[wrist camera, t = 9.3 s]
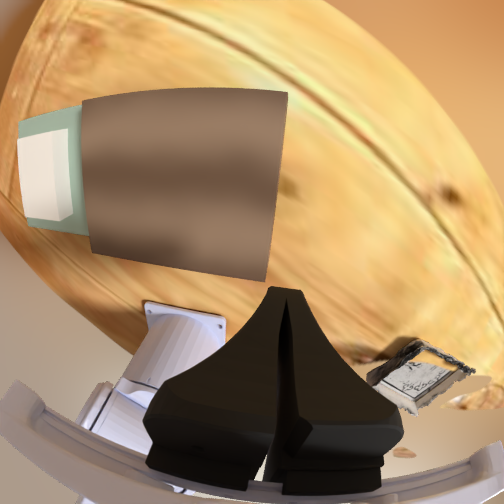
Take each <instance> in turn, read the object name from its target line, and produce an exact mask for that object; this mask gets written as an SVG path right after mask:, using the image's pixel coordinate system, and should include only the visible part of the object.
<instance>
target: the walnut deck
mask: <svg viewBox="0 0 504 504" xmlns="http://www.w3.org/2000/svg"><path fill="white" fill-rule="evenodd" d="M287 104H288V92H281V91H272V90H260V89H244V88H175V89H160V90H149V91H139V92H131V93H123V94H117V95H110V96H104V97H99V98H93V99H88V100H84V101H82V116H81V156H82V176H83V189H84V200H85V209H86V217H87V225H88V231H89V238H90V244H91V250H92V253H96V254H101V255H106V256H111V257H117V258H122V259H127V260H133V261H138V262H144V263H149V264H155V265H160V266H166V267H172V268H178V269H184V270H190V271H196V272H202V273H208V274H214V275H221V276H227V277H233V278H240V279H247V280H253V281H260V282H265V279H266V273H267V268H268V262H269V255H270V247H271V239H272V232H273V224H274V216H275V208H276V200H277V192H278V184H279V175H280V167H281V158H282V149H283V141H284V132H285V122H286V113H287Z"/></svg>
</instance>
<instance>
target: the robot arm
mask: <svg viewBox="0 0 504 504" xmlns="http://www.w3.org/2000/svg"><path fill="white" fill-rule="evenodd" d="M144 308H145V313H146V319H147V324H148V329H149V332H148V333H147V335H146V337H145V338H144V340H143V341H142V343H141V345H140V346H139V348H138V350H137V351H136V353H135V355H134V356H133V358H132V360H131V362H130V363H129V365H128V367H127V368H126V370H125V372H124V373H123V375H122V377H121V378H120V379H119V381H118V382H117V384H116V385H115V387H114V388H112V387H113V384H111V383H110V382H108V381H107V382H105V383H98V385H97V386H96V388H95V389H94V391H93V392H92V394H91V395H90V397H89V398H88V400H87V402H86V403H85V405H84V407H83V409H82V410H81V412H80V414H79V416H78V418H77V419H76V421H75V423H74V422H72V421H71V420H69V419H67V418H65V417H64V416H62V415H60V414H59V413H57V412H55V411H54V410H52V409H51V408H49V407H47V406H46V405H45V403H44V401H43V400H42V399H41V398H40V397H39V395H38V394H36V393H35V392H34V391H33V390H32V389H30V388H29V387H27V386H26V385H24V384H23V383H22V382H20V381H19V380H15V381H14V383H13V384H12V386H11V387H10V388H9V389H8V391H7V392H6V394H5V395H4V397H3V398H2V399H1V401H0V434H1V435H2V436H3V437H4V438H5V439H6V440H7V441H8V442H9V443H10V444H12V445H13V446H14V447H15V448H16V449H17V450H18V451H20V452H21V453H22V454H23V455H24V456H26V457H27V458H28V459H29V460H30V461H32V462H33V463H34V464H36V465H37V466H38V467H39V468H41V469H42V470H43V471H45V472H46V473H47V474H49V475H50V476H51V477H53V478H54V479H56V480H58V481H59V482H60V483H62V484H63V485H65V486H66V487H68V488H69V489H71V490H73V491H74V492H76V493H78V494H79V495H80V496H79V497H78V499H77V501H76V503H75V504H257V503H249V502H241V501H232V500H224V499H212V498H201V497H195V496H192V494H194V493H195V492H201V493H205V494H209V495H214V496H219V497H225V498H230V499H237V500H244V501H251V502H261V503H272V504H341V503H351V504H481V503H483V502H485V501H487V500H488V499H490V498H491V497H493V496H495V495H497V494H498V493H500V492H502V491H503V490H504V449H503V446H502V443H501V440H498V441H496V442H494V443H491V444H489V445H487V446H485V447H483V448H481V449H479V450H478V451H476V452H475V453H474V454H472V455H471V456H470V457H469V458H466V459H463V460H461V461H458V462H455V463H452V464H448V465H445V466H442V467H438V468H435V469H431V470H427V471H423V472H419V473H415V474H410V475H405V476H399V477H394V478H388V479H381V470H380V467H382V466H383V465H384V457H383V455H384V454H386V453H387V452H388V451H389V450H391V449H392V448H393V447H394V446H395V445H396V444H397V443H398V442H399V441H400V440H401V439H402V437H403V434H404V430H403V425H402V420H401V416H400V413H399V410H398V407H397V405H396V404H395V403H393V402H392V401H390V400H389V399H387V398H386V397H385V396H383V395H382V394H380V393H379V392H377V391H376V390H375V389H374V388H372V387H371V386H370V385H369V384H368V383H367V382H365V381H364V380H363V379H362V378H360V376H359V375H357V373H356V372H355V371H354V370H353V369H352V368H351V367H350V366H349V365H348V364H347V363H346V362H345V361H344V360H343V359H342V358H341V356H340V355H339V354H338V353H337V351H336V350H335V349H334V347H333V346H332V345H331V343H330V342H329V340H328V339H327V337H326V336H325V334H324V333H323V331H322V330H321V328H320V326H319V325H318V323H317V321H316V319H315V317H314V316H313V314H312V312H311V310H310V308H309V306H308V303H307V301H306V299H305V297H304V294H303V292H302V291H301V290H296V289H288V288H281V287H274V286H271V287H269V288H268V291H267V293H266V295H265V297H264V299H263V301H262V302H261V304H260V306H259V307H258V308H257V310H256V311H255V313H254V314H253V315H252V317H251V318H250V319H249V320H248V321H247V323H246V324H245V325H244V326H243V327H242V328H241V329H240V330H239V331H238V332H237V333H236V334H235V335H234V336H233V337H232V338H231V339H230V340H229V341H228V342H227V343H226V344H225V336H226V319H225V318H224V317H222V316H218V315H213V314H207V313H202V312H197V311H192V310H187V309H182V308H177V307H172V306H167V305H163V304H158V303H154V302H149V301H148V302H146V303H145V305H144ZM219 324H220V325H222V326H219ZM266 455H267V459H266V464H265V470H264V475H263V480H262V481H255V480H254V479H255V476H256V474H257V472H258V470H259V468H260V467H261V466H262V464H263V461H264V459H265V457H266ZM352 502H353V503H352Z"/></svg>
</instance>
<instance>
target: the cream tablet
mask: <svg viewBox="0 0 504 504" xmlns="http://www.w3.org/2000/svg"><path fill="white" fill-rule="evenodd" d="M17 146H18V165H19V176H20V186H21V193H22V201H23V207H24V213H25V217H30V218H38V219H45V220H53V221H61V220H63V219H65V218H66V217H68V216H70V215H72V214H73V207H72V198H71V189H70V177H69V161H68V129H61V130H56V131H50V132H45V133H41V134H36V135H32V136H28V137H24V138H20V139H17Z"/></svg>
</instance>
